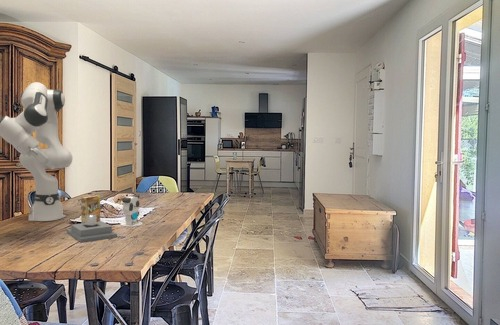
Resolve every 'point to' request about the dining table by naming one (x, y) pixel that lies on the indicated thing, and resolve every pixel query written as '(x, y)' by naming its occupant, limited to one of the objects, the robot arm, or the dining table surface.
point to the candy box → (90, 207)
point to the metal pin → (90, 220)
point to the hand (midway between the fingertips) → (53, 167)
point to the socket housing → (91, 232)
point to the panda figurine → (131, 211)
